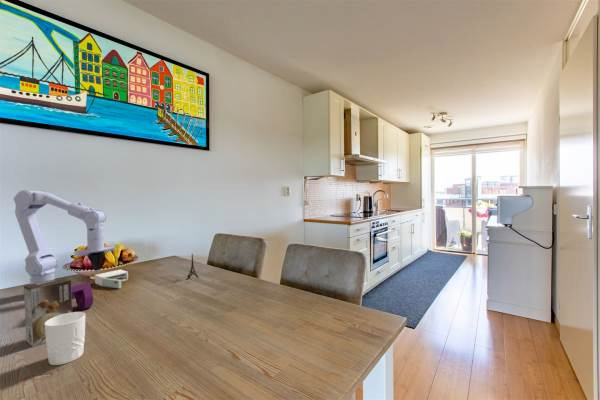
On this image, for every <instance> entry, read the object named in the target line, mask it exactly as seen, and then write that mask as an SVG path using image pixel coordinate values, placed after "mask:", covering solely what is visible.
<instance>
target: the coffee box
mask: <svg viewBox="0 0 600 400" xmlns="http://www.w3.org/2000/svg"><path fill="white" fill-rule="evenodd" d="M71 287H72V280H71V279H68V278H66V277H65V278H64V277H60V278H55V279H54V280H49V281H44V282H39V283H35V284H30V283H29V284H27V285H23V293H24V294H23V296H24V297H23V298H24V318H25V319H24V321H25V341H26V342H27V343H28V344H29V345H30V346H31V347H33V348H35V347H37V346H40V345H43V344H46V336H45V325H44V323H45V322H46V321H47V320H49V319H51V318H53V317H56V316H59V315H62V314H66V313H72V312H73V299H72V290H71Z"/></svg>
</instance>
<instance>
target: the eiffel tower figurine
mask: <svg viewBox="0 0 600 400" xmlns="http://www.w3.org/2000/svg"><path fill="white" fill-rule="evenodd" d="M190 265H191V266H190V270H189V273H188V274H187V275H188V276H187V275H186V276H187V277H188V279H190V277H191V276H196V277H197V278H198V277H199V275H198V273H197V272H196V270H195V266H194V254H193V253H191V263H190ZM197 275H198V276H197ZM198 279H199V278H198Z"/></svg>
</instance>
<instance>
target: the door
mask: <svg viewBox="0 0 600 400" xmlns="http://www.w3.org/2000/svg"><path fill="white" fill-rule="evenodd" d="M101 287H102V288H103V287H106V288H114V289H122V282H121V280H117V279H108V278H102V286H101Z"/></svg>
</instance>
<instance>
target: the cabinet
mask: <svg viewBox="0 0 600 400" xmlns="http://www.w3.org/2000/svg"><path fill="white" fill-rule="evenodd" d="M102 278H108V279H117V280H121V283H122V282H124V281H128V280H129V271H128V270H127V271H126V270H123V269H117V270H116V269H115V270H111V271H107V272H102V273H98V274H94V284H96V285H98V286H100V287H102Z"/></svg>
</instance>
